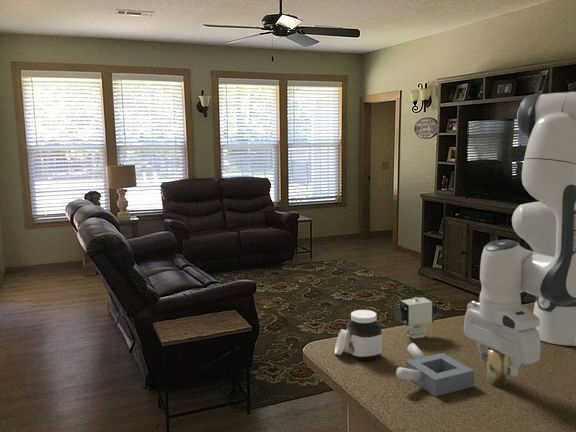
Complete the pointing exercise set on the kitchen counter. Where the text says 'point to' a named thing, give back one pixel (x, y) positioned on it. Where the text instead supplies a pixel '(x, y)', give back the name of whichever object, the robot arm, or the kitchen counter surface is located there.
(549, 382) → the kitchen counter surface
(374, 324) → the spread jar
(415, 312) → the pneumatic valve
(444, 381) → the coupling block
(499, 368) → the cylinder
